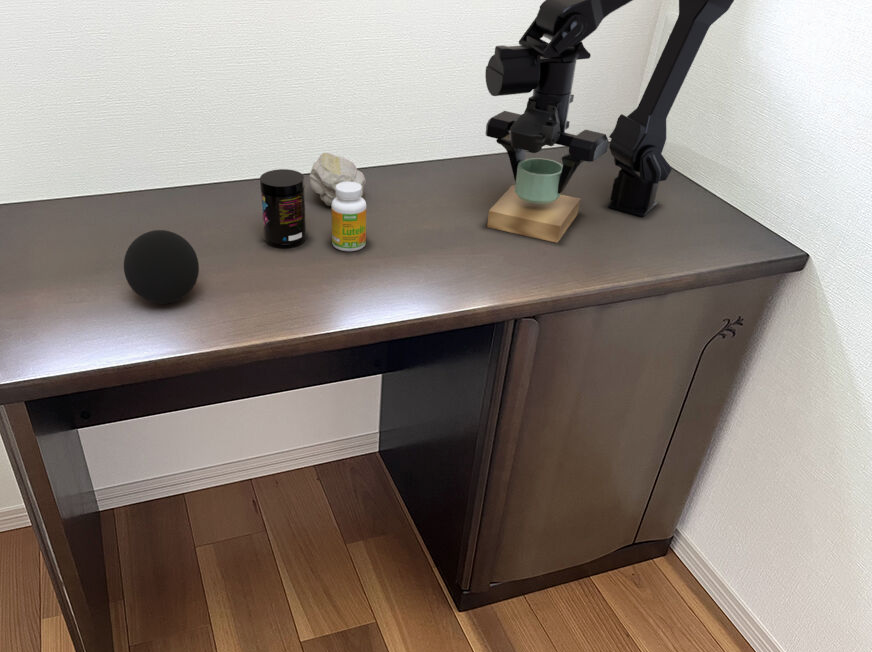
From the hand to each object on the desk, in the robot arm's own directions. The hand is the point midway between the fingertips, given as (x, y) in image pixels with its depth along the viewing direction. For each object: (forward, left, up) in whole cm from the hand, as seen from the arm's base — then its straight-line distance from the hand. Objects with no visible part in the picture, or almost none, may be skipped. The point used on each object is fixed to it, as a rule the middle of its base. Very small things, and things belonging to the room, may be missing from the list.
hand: (538, 186), depth 131 cm
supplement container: (+28, +31, -6) cm, 42 cm away
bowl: (0, 0, -2) cm, 2 cm away
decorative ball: (+29, +55, -6) cm, 63 cm away
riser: (0, 0, -6) cm, 6 cm away
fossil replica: (+31, +14, -6) cm, 35 cm away
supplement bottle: (+19, +26, -6) cm, 33 cm away
